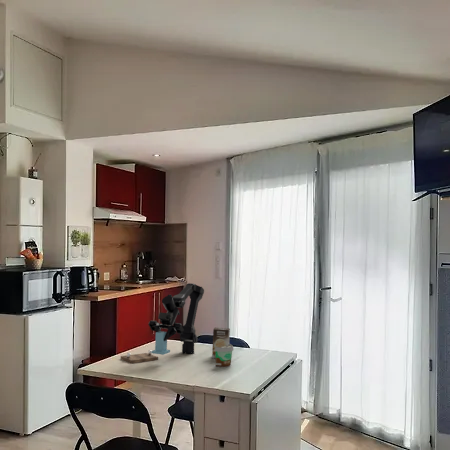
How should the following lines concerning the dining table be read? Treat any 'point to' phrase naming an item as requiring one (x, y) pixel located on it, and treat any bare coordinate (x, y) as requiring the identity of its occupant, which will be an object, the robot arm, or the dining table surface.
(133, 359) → the walnut base plate
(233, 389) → the dining table surface
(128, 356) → the dowel pins
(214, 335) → the coffee box
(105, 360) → the dining table surface
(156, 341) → the stepped blue block
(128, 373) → the dining table surface
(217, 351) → the food container
